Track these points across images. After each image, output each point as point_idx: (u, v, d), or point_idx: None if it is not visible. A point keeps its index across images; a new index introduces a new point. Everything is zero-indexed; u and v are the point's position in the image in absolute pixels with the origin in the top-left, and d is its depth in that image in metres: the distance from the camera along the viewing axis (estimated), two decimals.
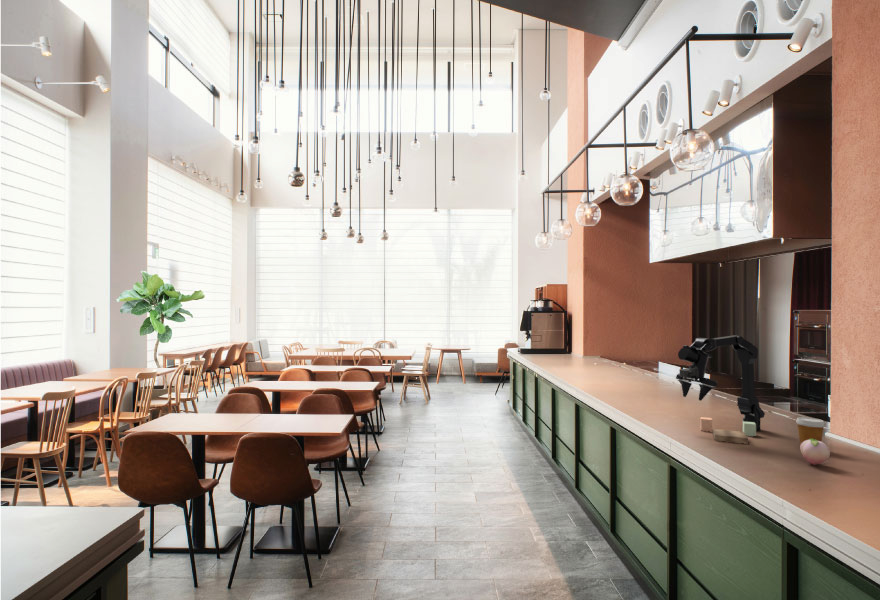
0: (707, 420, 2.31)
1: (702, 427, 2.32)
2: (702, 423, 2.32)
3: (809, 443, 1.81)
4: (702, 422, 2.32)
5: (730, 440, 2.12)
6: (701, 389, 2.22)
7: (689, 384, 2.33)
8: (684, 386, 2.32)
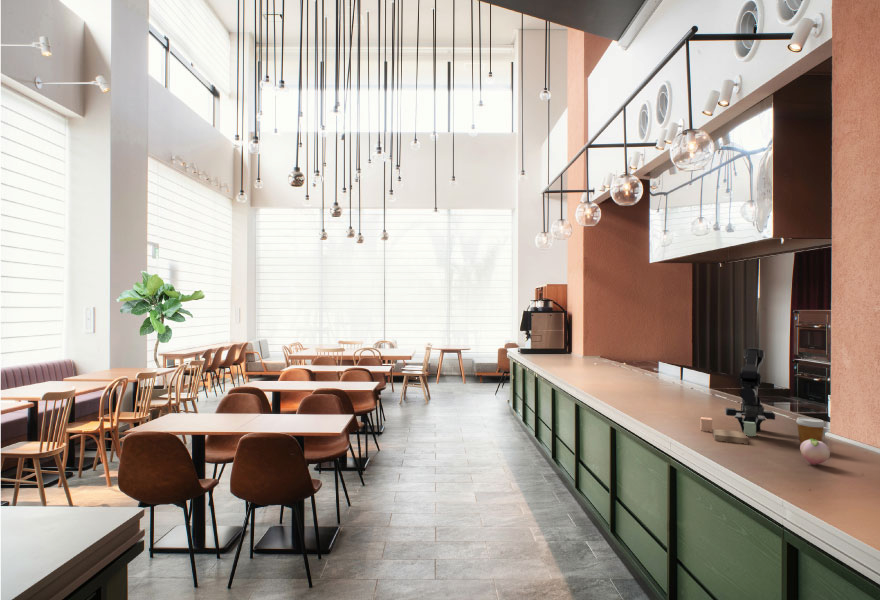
0: (707, 420, 2.31)
1: (702, 427, 2.32)
2: (702, 423, 2.32)
3: (809, 443, 1.81)
4: (702, 422, 2.32)
5: (730, 440, 2.12)
6: (758, 423, 2.23)
7: None
8: (742, 422, 2.26)
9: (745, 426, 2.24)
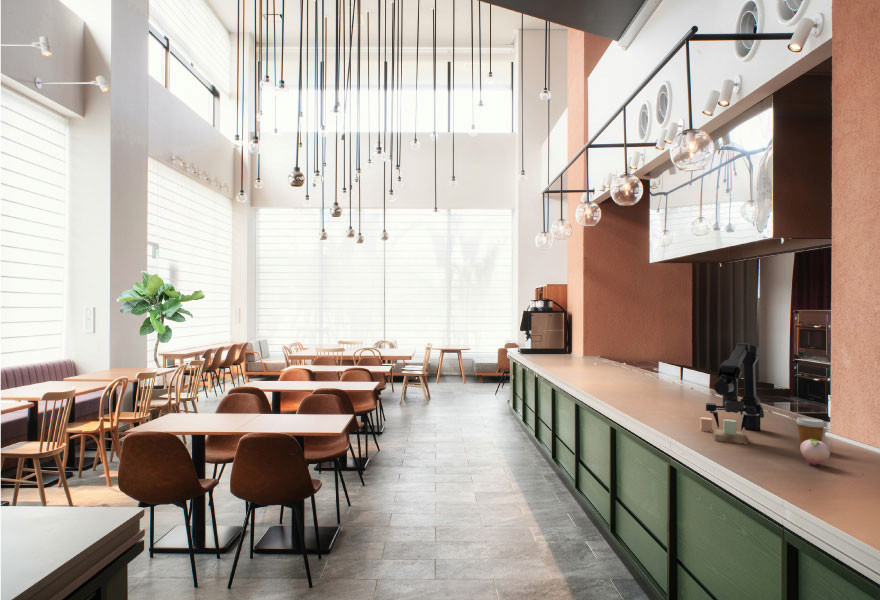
0: (707, 420, 2.31)
1: (702, 427, 2.32)
2: (702, 423, 2.32)
3: (809, 443, 1.81)
4: (702, 422, 2.32)
5: (730, 440, 2.12)
6: (744, 419, 2.14)
7: None
8: (717, 417, 2.18)
9: (725, 424, 2.16)
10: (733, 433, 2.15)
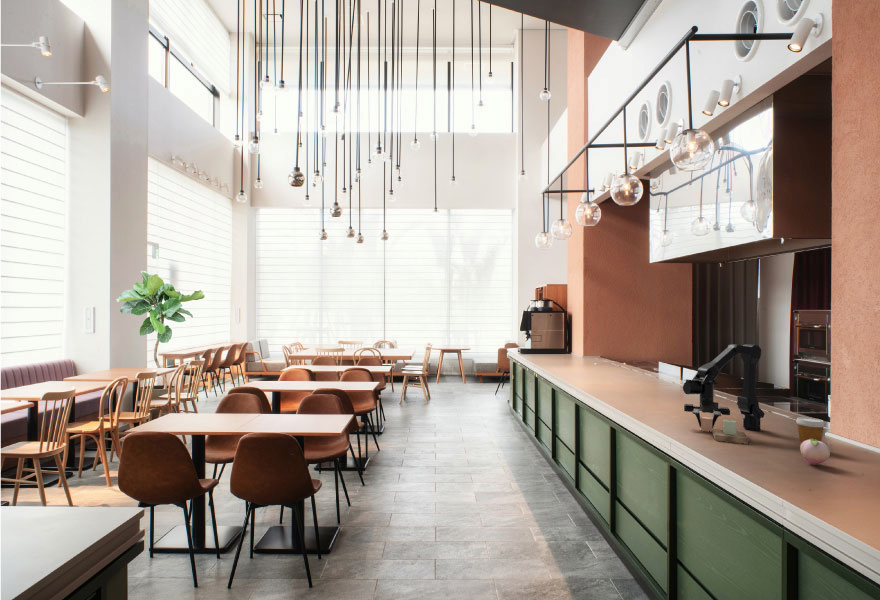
0: (707, 420, 2.31)
1: (702, 427, 2.32)
2: (702, 423, 2.32)
3: (809, 443, 1.81)
4: (702, 422, 2.32)
5: (730, 440, 2.12)
6: (715, 418, 2.31)
7: None
8: (699, 417, 2.34)
9: (725, 424, 2.16)
10: (733, 433, 2.15)
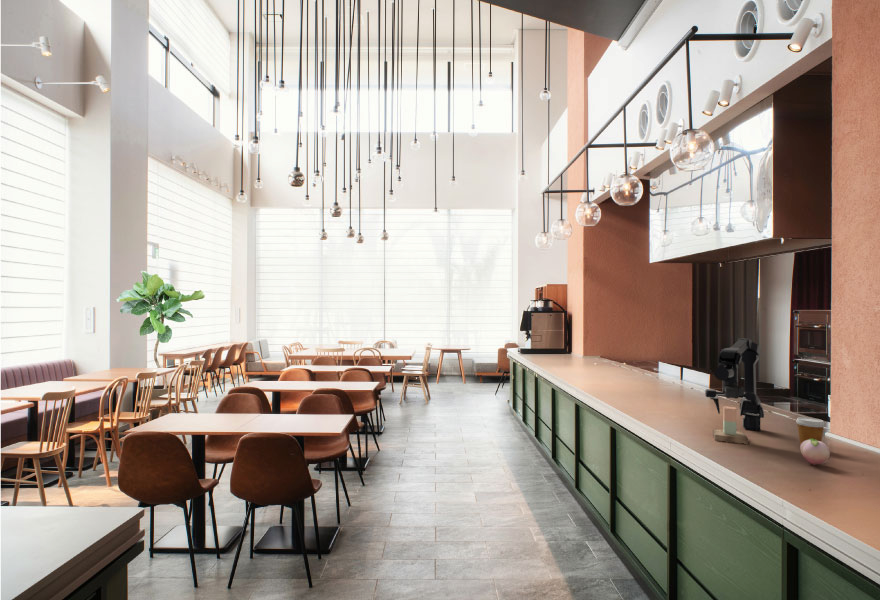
0: (731, 409, 2.15)
1: (725, 417, 2.16)
2: (725, 413, 2.16)
3: (809, 443, 1.81)
4: (725, 412, 2.16)
5: (730, 440, 2.12)
6: (744, 405, 2.14)
7: (717, 398, 2.21)
8: (718, 403, 2.18)
9: (725, 424, 2.16)
10: (733, 433, 2.15)
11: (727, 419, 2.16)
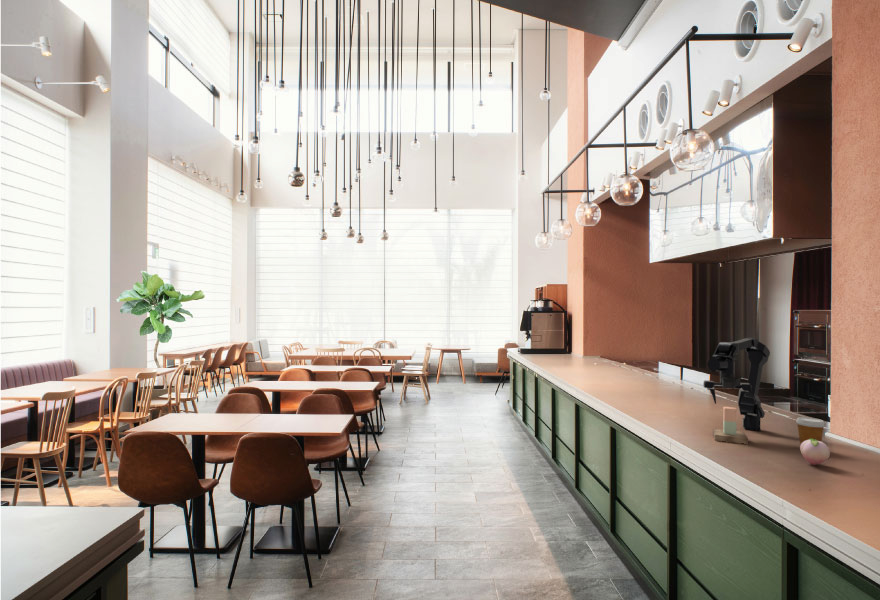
0: (731, 409, 2.15)
1: (725, 417, 2.16)
2: (725, 413, 2.16)
3: (809, 443, 1.81)
4: (725, 412, 2.16)
5: (730, 440, 2.12)
6: (741, 395, 2.24)
7: None
8: (714, 393, 2.29)
9: (725, 424, 2.16)
10: (733, 433, 2.15)
11: (727, 419, 2.16)
